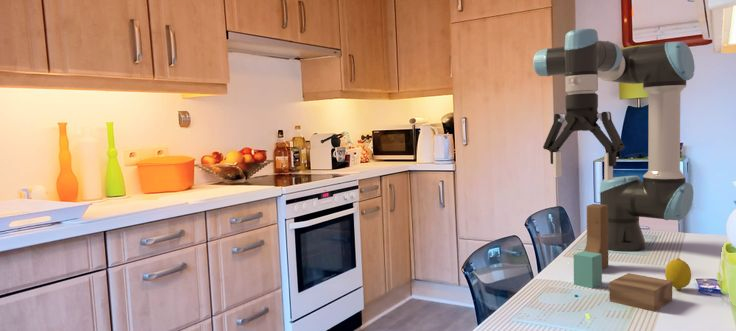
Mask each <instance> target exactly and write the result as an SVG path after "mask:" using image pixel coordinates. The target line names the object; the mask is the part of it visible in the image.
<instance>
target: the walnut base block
mask: <svg viewBox="0 0 736 331" xmlns="http://www.w3.org/2000/svg"><path fill="white" fill-rule="evenodd" d="M609 302H610V303H614V304H619V305H622V306H628V307H632V308H636V309H641V310H644V311H650V312H653V313H654V312H656V311H658V310H660V309H661V308H662V307H665V306H666V305H668V304H669V303H671V302H673V286H672V281H669V280H666V279H665V278H663V279H662V278H657V277H652V276H646V275H642V274H641V275H640V274H636V273H630V272H629V273H625V274H624V275H621V276H620V277H617V278H615V279H613V280H611V281H609Z"/></svg>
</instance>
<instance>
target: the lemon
mask: <svg viewBox="0 0 736 331" xmlns="http://www.w3.org/2000/svg"><path fill="white" fill-rule="evenodd" d="M664 271H665V272H664V273H665V280H669V281H672V288H674V289H675V290H677V291H680V290H681V289H683V288H684V289H685V288H686V287H687V286H689V284H690V282H691V280H692V271H691V267H690V265H689V264H688V263H687V262H686V261H685V260H683V259H681V258H680V257H679V258H678V257H676V258H675V259H672V260H670V261H669V262H668V263H667V264H666V267H665V270H664Z"/></svg>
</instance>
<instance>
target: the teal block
mask: <svg viewBox="0 0 736 331" xmlns="http://www.w3.org/2000/svg"><path fill="white" fill-rule="evenodd" d="M573 285H574V286H579V287H584V288H588V289H595V288H597V287H599V286H601V285H603V269H602V254H599V253H593V252H587V251H584V250H583V251H578V252H576V253H573Z"/></svg>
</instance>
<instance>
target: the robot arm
mask: <svg viewBox="0 0 736 331" xmlns="http://www.w3.org/2000/svg"><path fill="white" fill-rule="evenodd" d="M564 38H565V39H564V46H558V47H557V46H556V47H550V48H543V49H540V50H538V51H536V52H535V54H534V56H533V58H532V59H533V61H532V62H533V63H532V64H533V65H532V66H533V70H534V72H535V73H536V75H538V76H539V77H551V76H565V81H564V82H565V84H564V85H565V93H567V94H566V96H565V111H566V113H565V114H563V113H554V116H553V117H554V118H553V123H552V126H551V128H550V130H549V132H548V134H547V136H546V140H545V141H544V143H543V147H542V148H543V150H547V151H548V152H550V153H549V154H550V164H551V165H553V166H552V167H553V168H552V170H553V171H552V173H553V178H561V177H563V176H562V174H563V173H562V172H563V171H562V169H563V168H562V151H560V149H561V148H562V146H563V145H564V144H565V142H566V141H567V139H568V138H569V137H570V136H571V135H572V133H574V132H578V131H579V132H580V131H582V132H583V131H584V132H588V131H589V132H590V133H592V135H593V136H594V137H595V138H596V139H597V140H598V141H599V143H600V145H602V147H603V148H604V149H605V150H606V152H604V155H603V156H604V157H603V158H604V159H603V160H604V163H603V165H604V167H603V168H604V172H603V173H604V174H603V175H604V176H603V177H604V178H603V179H602V180H601V182H600V190H599V199H600V201H599V204H602V205H608V250H609V249H610V250H609V251H619V252H620V251H623V252H625V251H626V252H628V251H630V252H632V251H640V250H643V249H645V248H646V240H645V236H644V234H643V231H642V228H641V226H640V218H648V219H659V220H665V221H682V220H683V219H685V217H687V216H688V214H689V212H690V210H691V208H692V204H693V200H694V189H693V185H692V184H691V183H689V182H686V181H687V180H686V178H687V177H686V175H685V174H684V173H682V171H681V93H682V91H683V90H684V89H685V88H686V87H687V81H689V80H691V79H693V77H694V74H695V68H696V67H695V61H694V60H695V59H694V56H693V53H692V50H691V48H690V47H689V45H688V44H687V43H685V42H683V41H666V42H660V43H654V44H646V45H640V46H639V45H638V46H632V47H625V48H621V47H620V46H619V45H618V44H617V43H614V42H612V41H609V40H606V41H605V40H599V35H598V31H597V29H595V28H579V29H574V30H570V31H568V32H567V33H566V34H565V37H564ZM598 78H599V79H600V80H602V81H605V82H611V83H613V82H614V83H622V84H632V85H636V84H642V89H643V90H644V91H645V92H646V93H647V94H648V149H647V150H648V155H647V156H648V158H647V159H648V162H647V163H648V166H647V167H648V169H647V172H645V173H644V174H643V175H642V180H640V176H639V175H624V176H614V167H616V166H617V153H618V152H620V151H623V150H625V147H626V146H625V144H624V142H623V141H622V140H623V139H621V136H620V135H619V132H618V131H617V128H616V126H615V125H614V123H613V119H612V113H611V111H602V112H600V113H599V112H598V108H599V95H598V93H596V92H598V91H599V80H598ZM599 120H600V121H601V123H602V125H603V127H604V129H605V131H606V133H607V135H608V136H607V135H606V134H605V132H604V131H603V130H602V129H601V127H600V125H599V124H598V122H597V121H599ZM565 121H566V125H565V126H564V128H563V130H562V131H561V133H560V130H561V128H562V126H563V123H564V122H565ZM559 133H560V134H559Z"/></svg>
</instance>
